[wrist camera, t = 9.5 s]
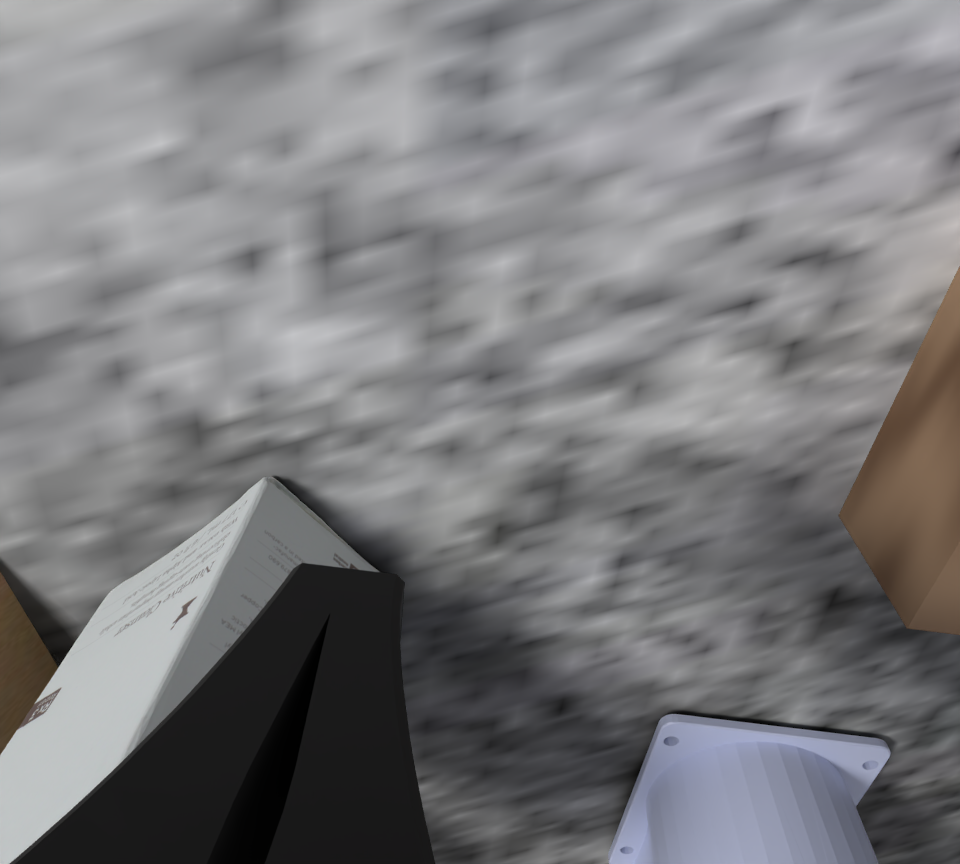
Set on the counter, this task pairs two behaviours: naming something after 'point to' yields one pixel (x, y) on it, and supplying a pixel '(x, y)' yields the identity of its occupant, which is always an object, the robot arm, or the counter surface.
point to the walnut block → (917, 485)
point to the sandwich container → (19, 664)
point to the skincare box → (153, 653)
